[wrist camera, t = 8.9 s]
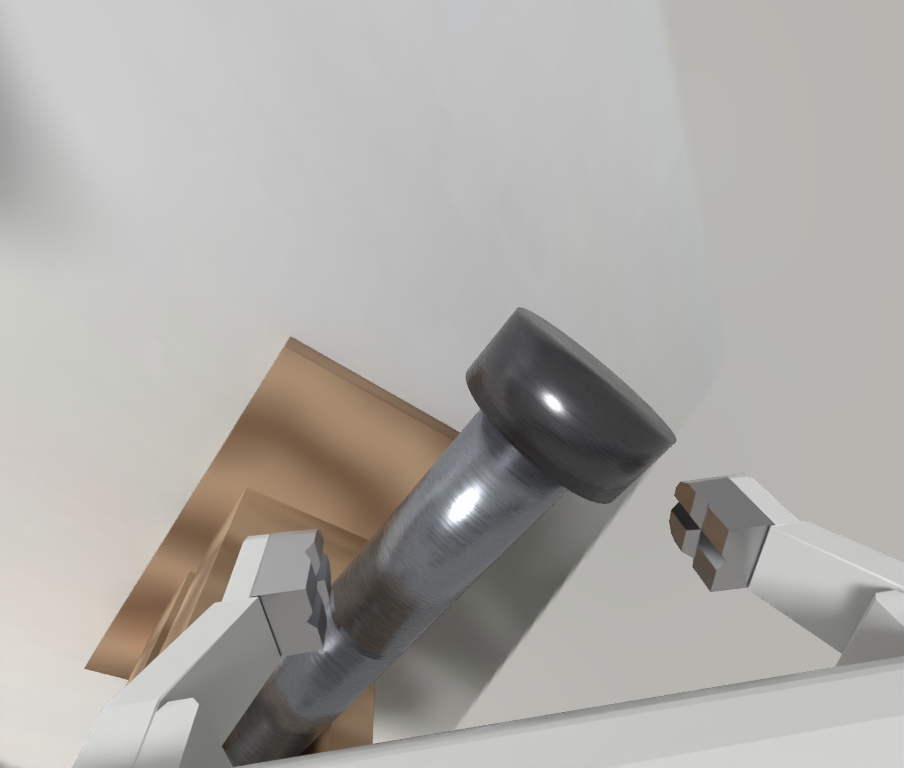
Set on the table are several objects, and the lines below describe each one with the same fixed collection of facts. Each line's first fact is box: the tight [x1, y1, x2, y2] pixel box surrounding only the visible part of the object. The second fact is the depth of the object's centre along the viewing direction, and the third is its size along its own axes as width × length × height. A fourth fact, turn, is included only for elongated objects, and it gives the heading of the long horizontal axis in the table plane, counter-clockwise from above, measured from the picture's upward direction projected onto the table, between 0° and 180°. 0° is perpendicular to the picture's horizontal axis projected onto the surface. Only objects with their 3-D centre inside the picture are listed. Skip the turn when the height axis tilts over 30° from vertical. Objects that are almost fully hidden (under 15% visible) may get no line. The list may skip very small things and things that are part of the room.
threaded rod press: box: [84, 337, 460, 756], centre depth 21 cm, size 26×12×15 cm, turn 143°
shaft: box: [222, 307, 676, 767], centre depth 15 cm, size 26×5×5 cm, turn 143°
